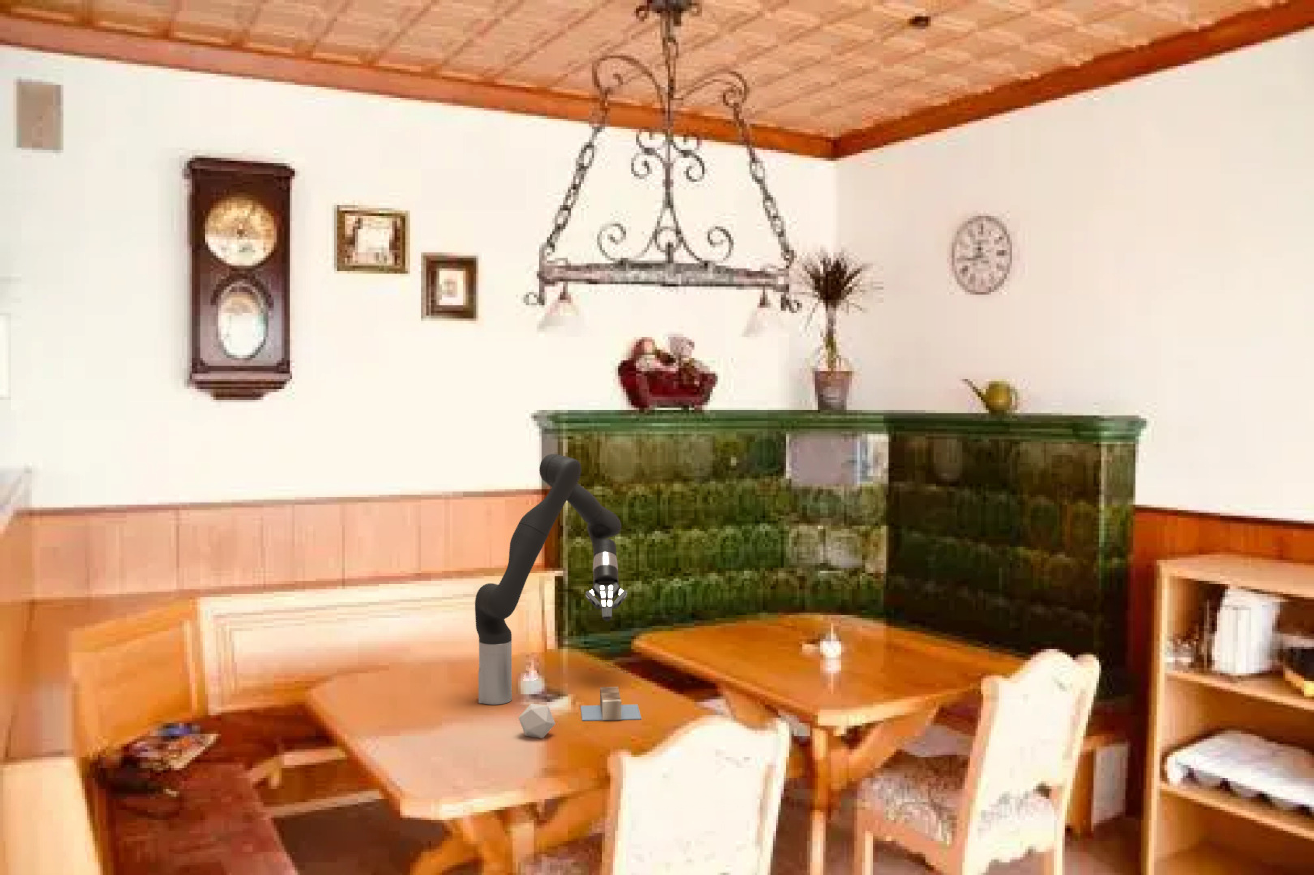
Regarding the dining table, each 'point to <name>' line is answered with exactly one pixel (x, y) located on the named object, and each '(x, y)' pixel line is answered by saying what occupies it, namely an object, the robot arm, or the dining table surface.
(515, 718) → the dining table surface
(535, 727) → the die
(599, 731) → the dining table surface
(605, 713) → the block
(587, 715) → the board
